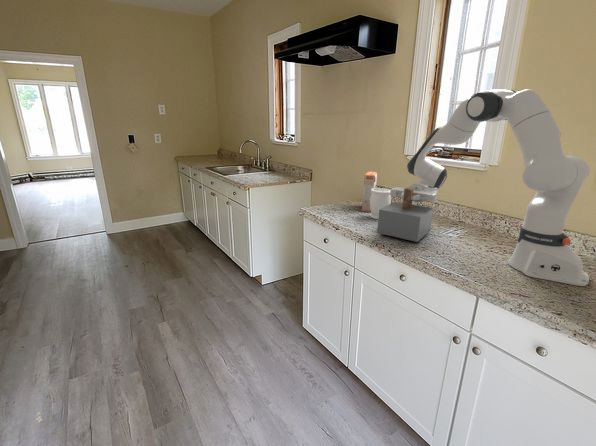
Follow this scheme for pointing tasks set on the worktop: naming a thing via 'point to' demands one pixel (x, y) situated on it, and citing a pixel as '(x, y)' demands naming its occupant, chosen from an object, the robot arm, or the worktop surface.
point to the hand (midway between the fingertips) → (407, 197)
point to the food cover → (405, 219)
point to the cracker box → (368, 189)
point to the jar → (379, 200)
